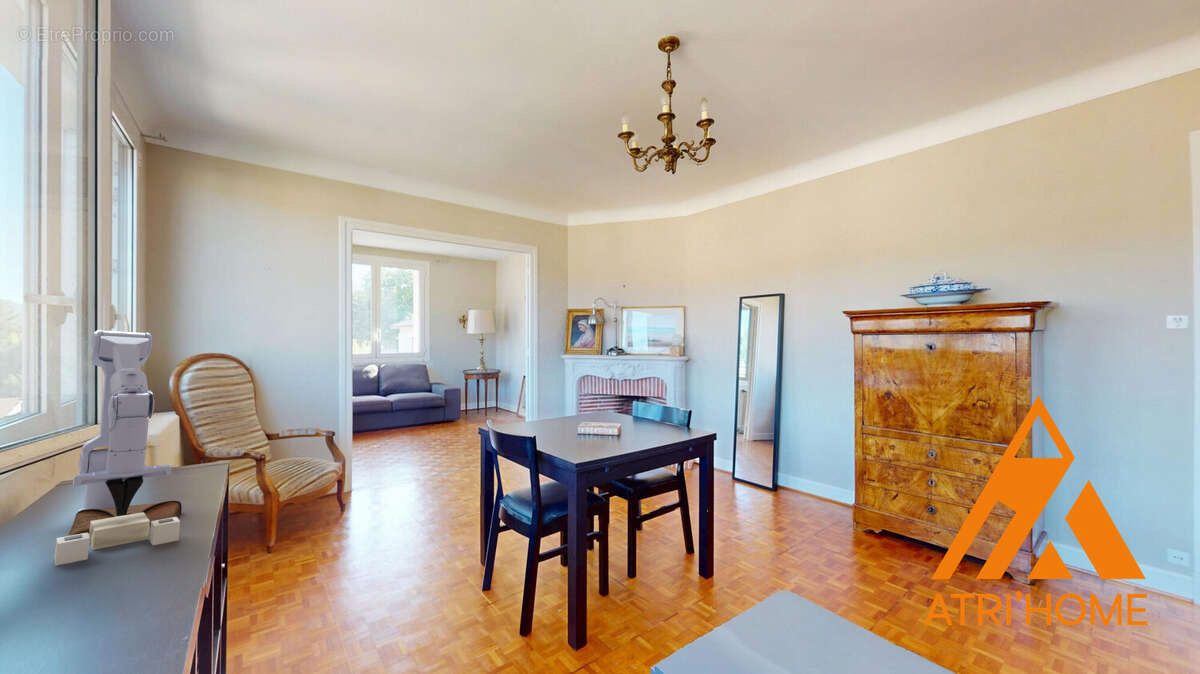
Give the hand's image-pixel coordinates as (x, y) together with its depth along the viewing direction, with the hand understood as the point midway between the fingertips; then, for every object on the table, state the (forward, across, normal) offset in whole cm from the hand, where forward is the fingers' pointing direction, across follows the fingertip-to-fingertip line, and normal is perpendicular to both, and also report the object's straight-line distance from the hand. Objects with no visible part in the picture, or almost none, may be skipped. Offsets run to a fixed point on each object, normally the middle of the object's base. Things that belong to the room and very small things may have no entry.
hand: (121, 514), depth 98 cm
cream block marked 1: (+5, -7, -7) cm, 11 cm away
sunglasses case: (+6, +2, +10) cm, 12 cm away
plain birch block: (+5, 0, 0) cm, 5 cm away
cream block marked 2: (+5, +6, -7) cm, 11 cm away
